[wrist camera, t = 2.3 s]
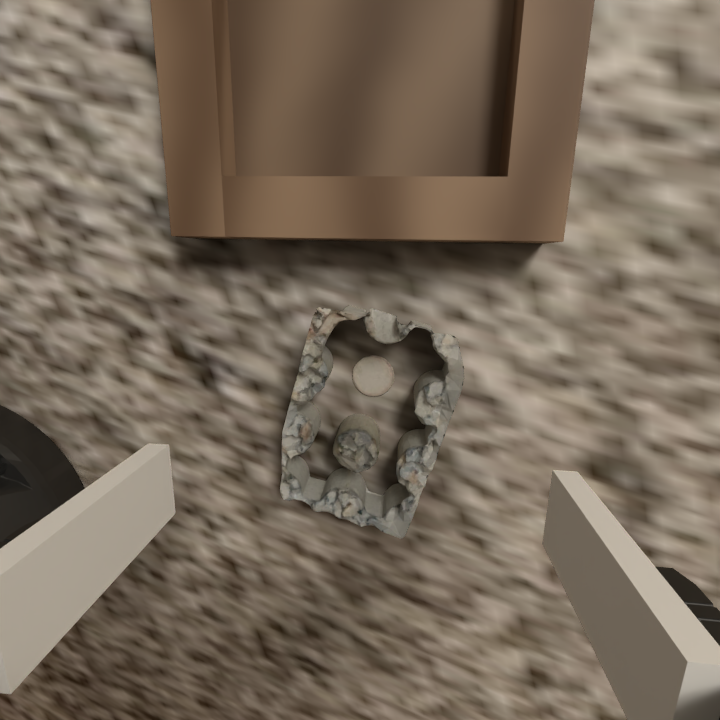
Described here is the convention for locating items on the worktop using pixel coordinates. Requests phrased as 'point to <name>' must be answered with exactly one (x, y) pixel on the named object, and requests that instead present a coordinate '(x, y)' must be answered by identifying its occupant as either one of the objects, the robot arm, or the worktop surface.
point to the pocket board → (370, 117)
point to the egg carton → (367, 425)
